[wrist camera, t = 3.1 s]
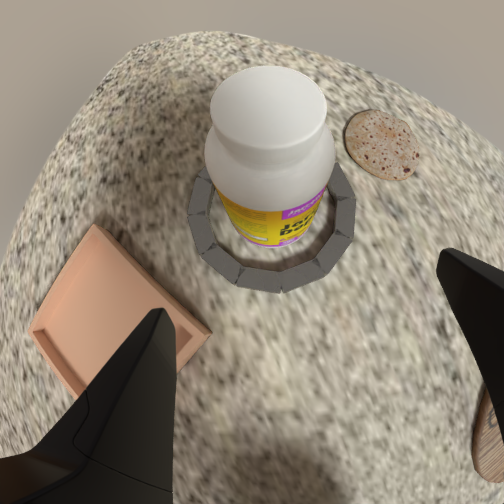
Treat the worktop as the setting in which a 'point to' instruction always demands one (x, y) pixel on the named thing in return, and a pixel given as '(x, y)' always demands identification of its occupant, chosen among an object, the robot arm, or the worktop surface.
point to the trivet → (488, 443)
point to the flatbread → (382, 145)
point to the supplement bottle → (269, 152)
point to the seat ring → (267, 278)
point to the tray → (103, 311)
